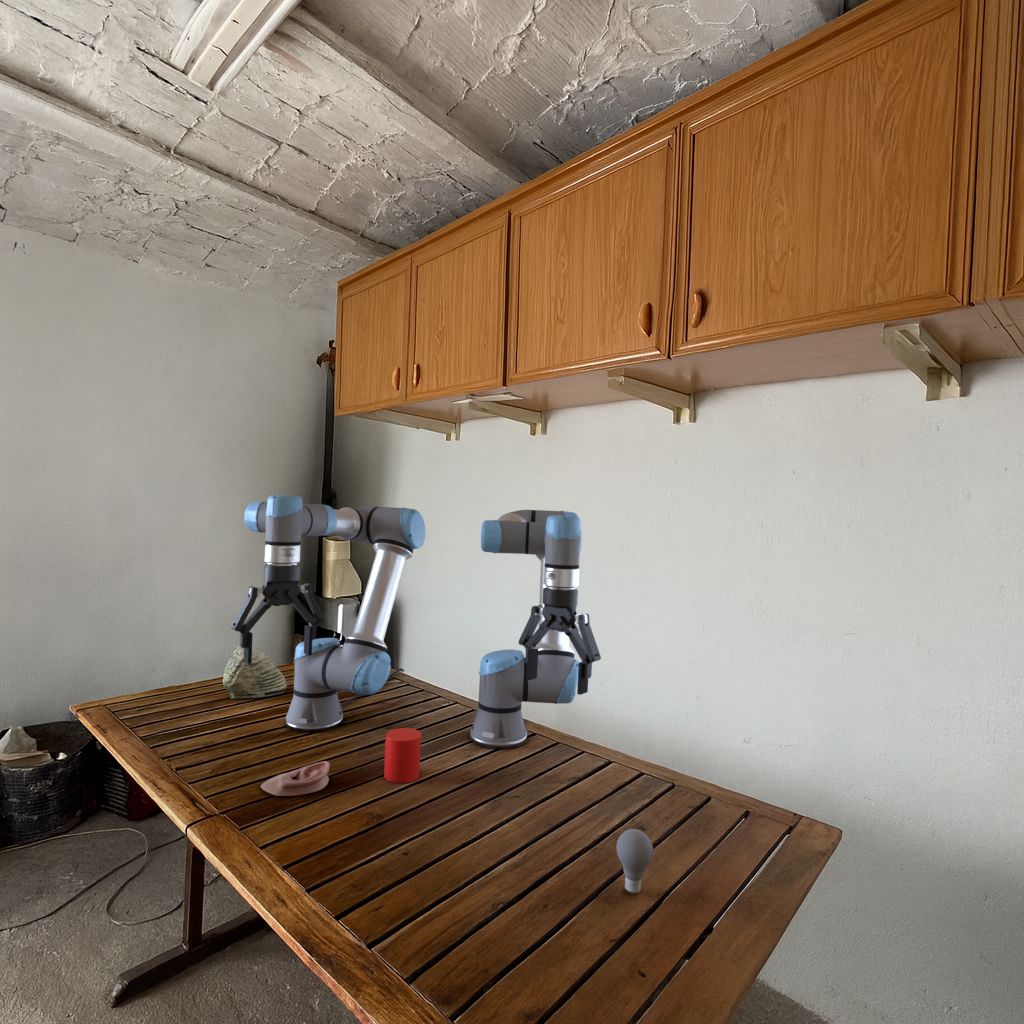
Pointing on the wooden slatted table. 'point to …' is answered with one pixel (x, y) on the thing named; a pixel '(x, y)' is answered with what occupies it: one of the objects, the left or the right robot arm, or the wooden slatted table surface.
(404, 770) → the cylinder
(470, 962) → the wooden slatted table surface
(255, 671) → the fossil
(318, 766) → the anatomical model
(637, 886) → the light bulb
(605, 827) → the wooden slatted table surface
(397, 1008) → the wooden slatted table surface
